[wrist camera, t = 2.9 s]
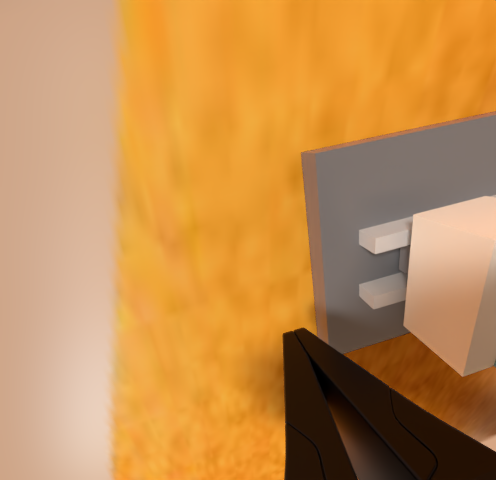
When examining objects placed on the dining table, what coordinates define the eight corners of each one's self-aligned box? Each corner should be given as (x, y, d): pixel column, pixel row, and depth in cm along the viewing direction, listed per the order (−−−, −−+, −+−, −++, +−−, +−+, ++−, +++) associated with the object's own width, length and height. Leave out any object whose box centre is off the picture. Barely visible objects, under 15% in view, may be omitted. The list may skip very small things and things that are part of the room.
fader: (435, 290, 14) (539, 353, 10) (381, 306, 14) (465, 379, 10) (449, 189, 12) (594, 214, 8) (385, 205, 11) (499, 241, 7)
